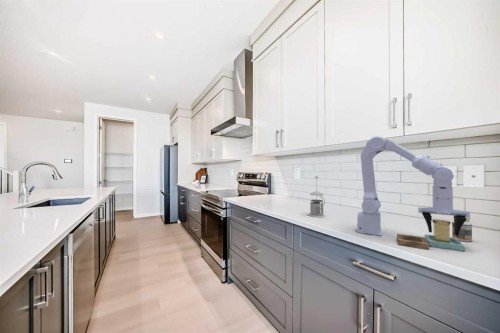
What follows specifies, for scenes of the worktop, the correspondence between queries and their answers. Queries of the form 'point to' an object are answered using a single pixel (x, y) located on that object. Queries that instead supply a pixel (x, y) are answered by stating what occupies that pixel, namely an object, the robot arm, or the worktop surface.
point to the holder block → (412, 241)
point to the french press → (316, 205)
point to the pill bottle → (464, 231)
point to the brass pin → (441, 230)
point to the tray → (453, 244)
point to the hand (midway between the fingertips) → (442, 233)
